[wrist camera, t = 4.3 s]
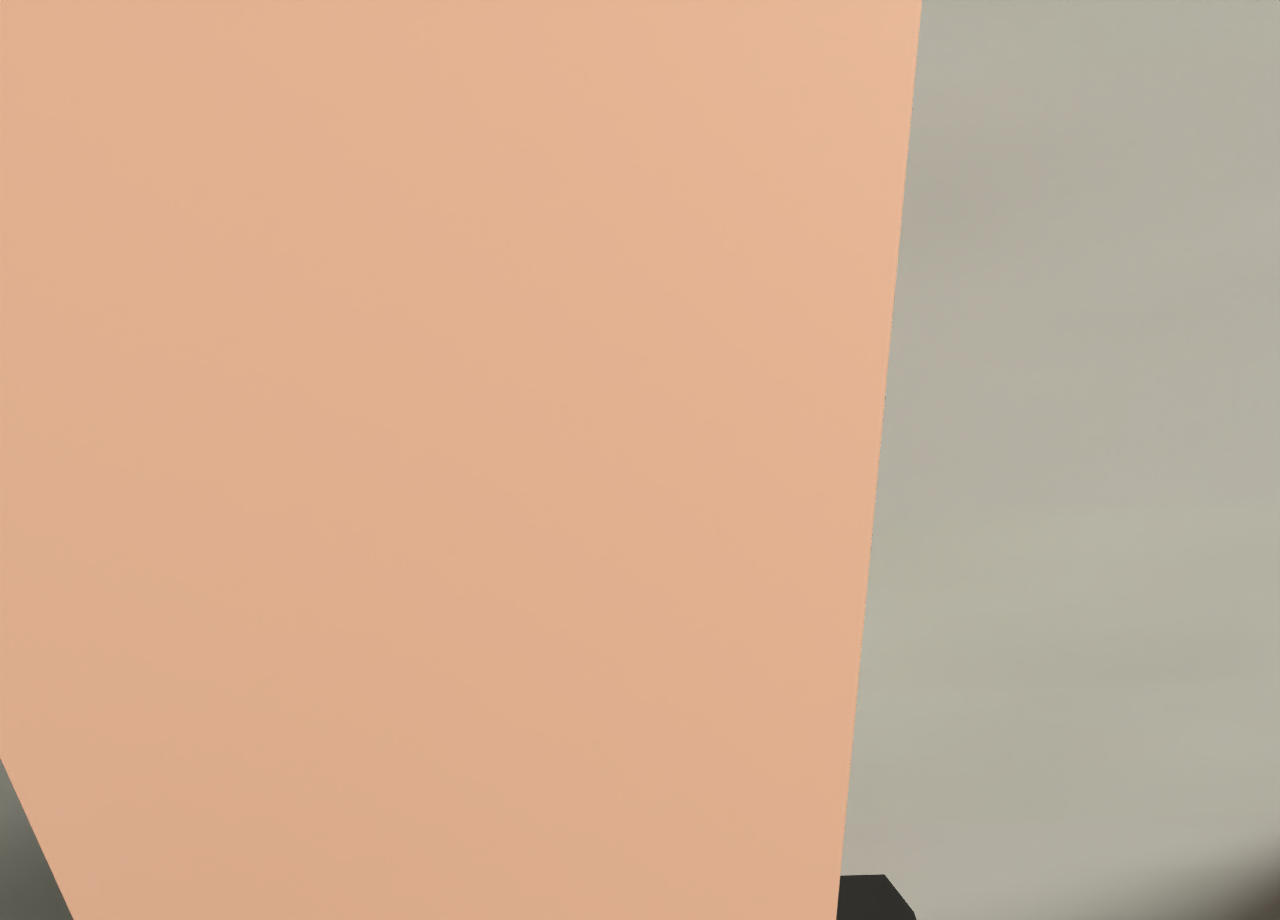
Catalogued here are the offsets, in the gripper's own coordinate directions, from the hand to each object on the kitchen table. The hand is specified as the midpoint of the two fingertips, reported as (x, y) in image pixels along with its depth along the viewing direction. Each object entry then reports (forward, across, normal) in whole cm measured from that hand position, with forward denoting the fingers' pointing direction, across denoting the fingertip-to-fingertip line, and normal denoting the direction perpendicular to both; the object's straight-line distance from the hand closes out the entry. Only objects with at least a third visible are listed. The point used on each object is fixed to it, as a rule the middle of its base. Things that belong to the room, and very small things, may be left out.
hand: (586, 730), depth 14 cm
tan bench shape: (+2, 0, -6) cm, 6 cm away
